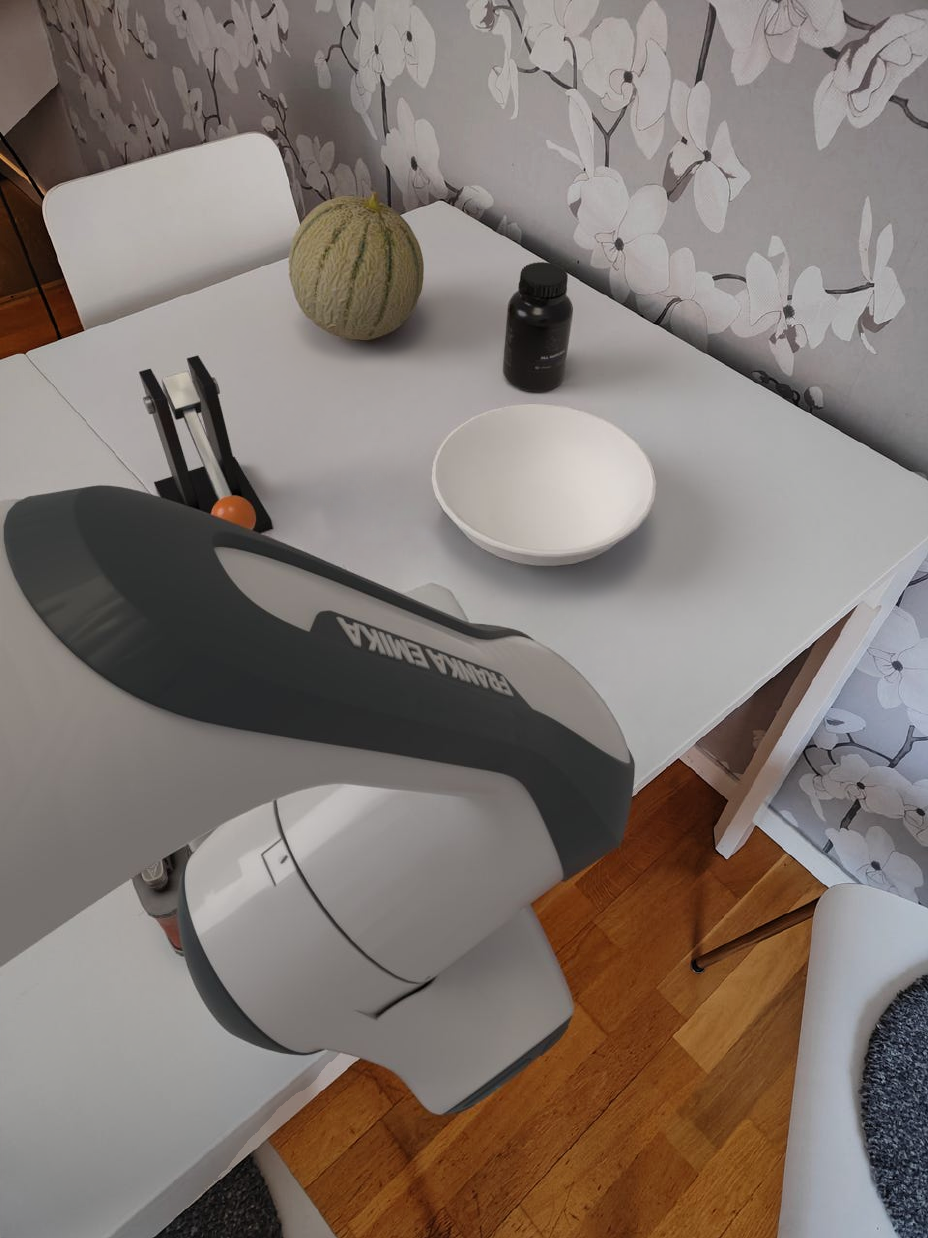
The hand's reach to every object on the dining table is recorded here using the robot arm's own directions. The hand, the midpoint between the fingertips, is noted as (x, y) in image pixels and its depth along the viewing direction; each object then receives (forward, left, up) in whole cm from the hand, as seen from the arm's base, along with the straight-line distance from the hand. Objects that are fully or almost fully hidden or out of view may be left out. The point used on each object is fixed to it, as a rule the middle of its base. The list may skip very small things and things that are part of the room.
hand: (261, 601), depth 53 cm
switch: (+3, +24, -8) cm, 25 cm away
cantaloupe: (+28, +49, -17) cm, 59 cm away
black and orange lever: (+3, +28, -17) cm, 32 cm away
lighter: (-11, -7, -17) cm, 22 cm away
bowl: (+29, +12, -17) cm, 35 cm away
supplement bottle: (+41, +32, -17) cm, 54 cm away
